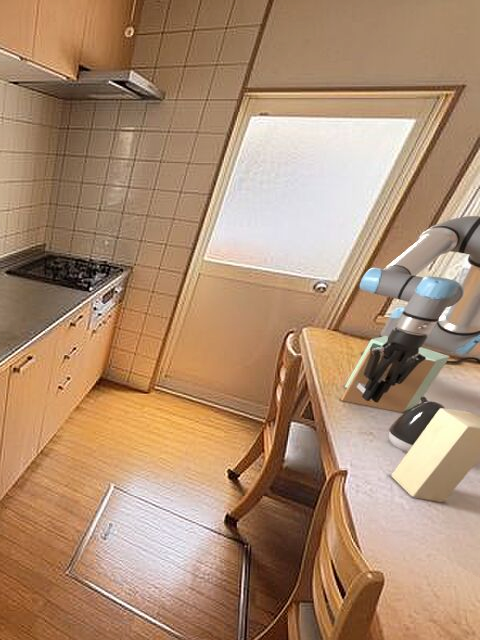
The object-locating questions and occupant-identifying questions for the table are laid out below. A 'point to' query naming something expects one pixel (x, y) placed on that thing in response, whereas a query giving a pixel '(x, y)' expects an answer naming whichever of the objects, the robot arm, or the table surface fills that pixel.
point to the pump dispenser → (412, 424)
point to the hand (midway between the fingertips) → (369, 399)
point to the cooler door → (396, 394)
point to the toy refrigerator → (441, 455)
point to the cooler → (429, 354)
